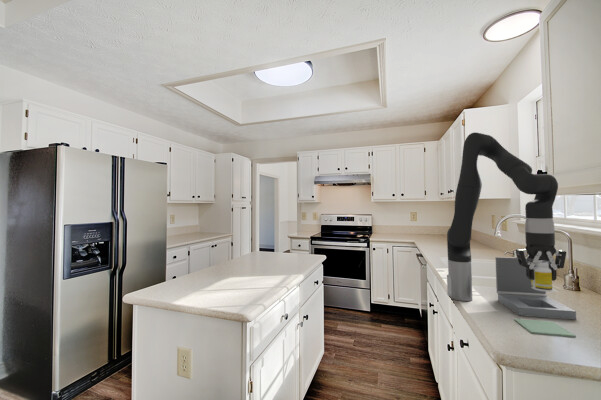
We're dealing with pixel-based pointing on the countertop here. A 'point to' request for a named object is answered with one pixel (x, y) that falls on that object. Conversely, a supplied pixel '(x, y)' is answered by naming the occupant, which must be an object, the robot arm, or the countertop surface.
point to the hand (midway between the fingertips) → (541, 279)
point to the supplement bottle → (542, 277)
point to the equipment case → (525, 292)
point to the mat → (544, 327)
